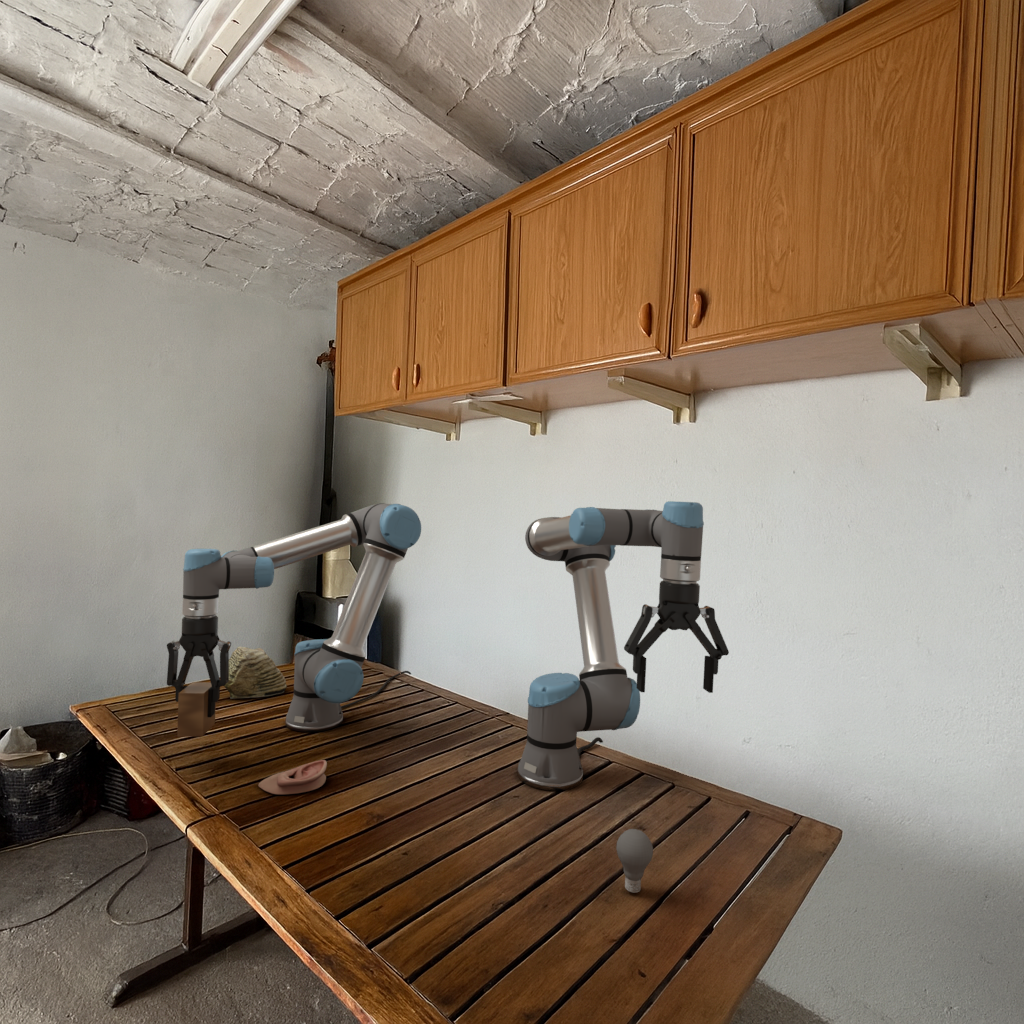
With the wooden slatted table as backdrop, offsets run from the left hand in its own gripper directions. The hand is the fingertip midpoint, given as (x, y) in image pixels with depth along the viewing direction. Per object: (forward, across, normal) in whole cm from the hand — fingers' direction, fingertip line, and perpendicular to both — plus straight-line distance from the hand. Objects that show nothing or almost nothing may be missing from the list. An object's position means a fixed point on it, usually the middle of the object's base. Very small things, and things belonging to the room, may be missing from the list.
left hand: (197, 715), depth 147 cm
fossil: (+11, 0, +51) cm, 53 cm away
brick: (+3, 0, 0) cm, 3 cm away
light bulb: (+11, +88, -54) cm, 103 cm away
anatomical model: (+11, +24, -12) cm, 29 cm away
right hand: (-17, +100, -37) cm, 108 cm away
